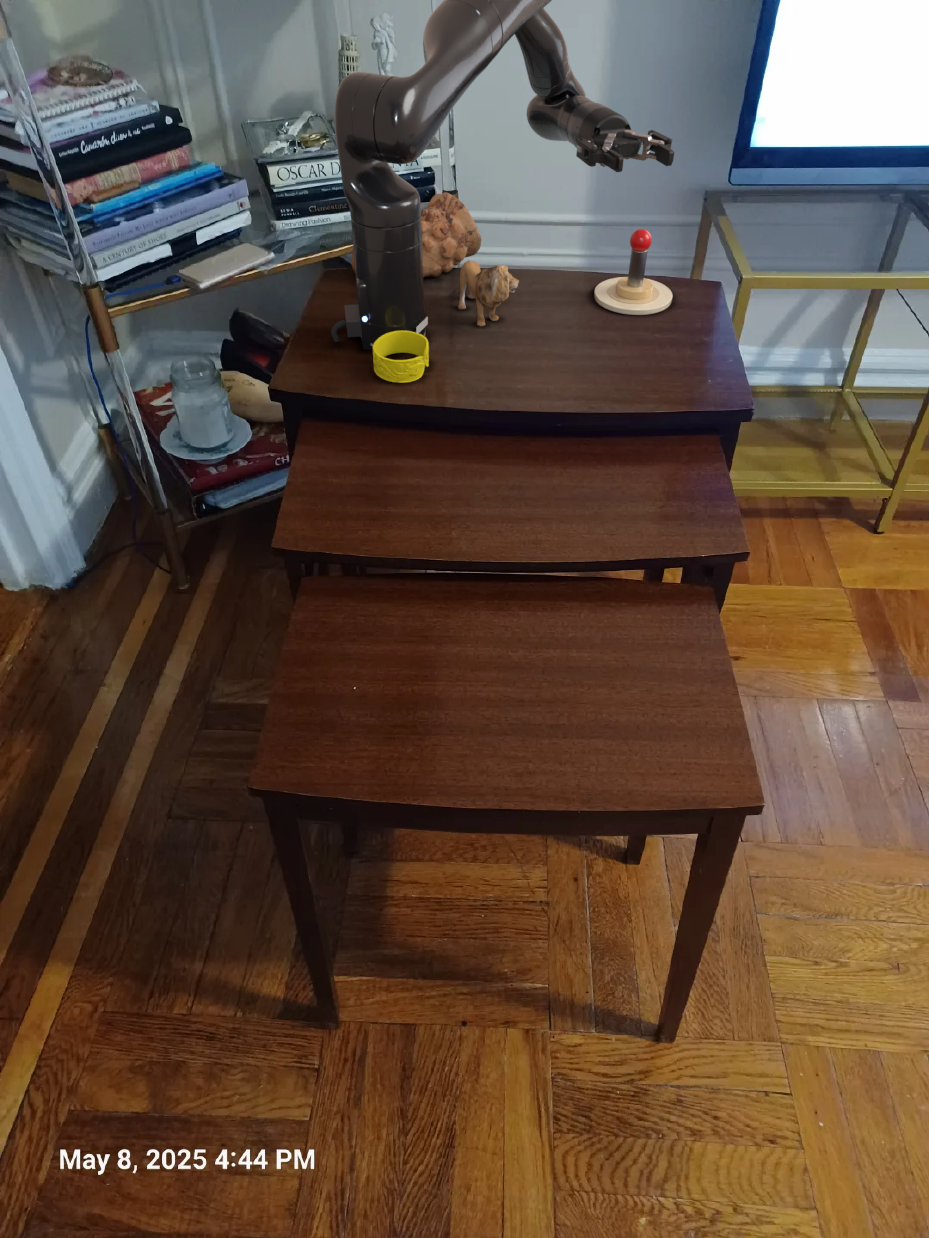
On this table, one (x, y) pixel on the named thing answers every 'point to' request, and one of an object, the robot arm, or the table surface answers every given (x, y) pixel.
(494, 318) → the lion figurine
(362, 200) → the robot arm
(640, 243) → the red ball post
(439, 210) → the brown bumpy lump
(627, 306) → the plate
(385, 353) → the bracelet
